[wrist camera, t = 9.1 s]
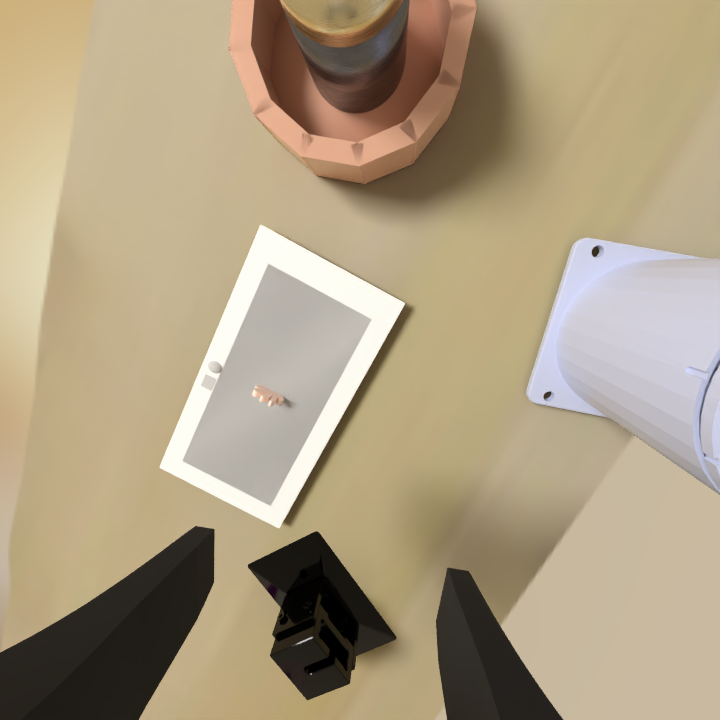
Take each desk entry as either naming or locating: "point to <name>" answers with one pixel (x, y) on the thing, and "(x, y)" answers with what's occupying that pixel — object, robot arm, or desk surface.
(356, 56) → the battery
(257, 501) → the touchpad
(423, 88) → the peach round shallow bowl
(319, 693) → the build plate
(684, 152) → the desk surface
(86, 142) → the desk surface
